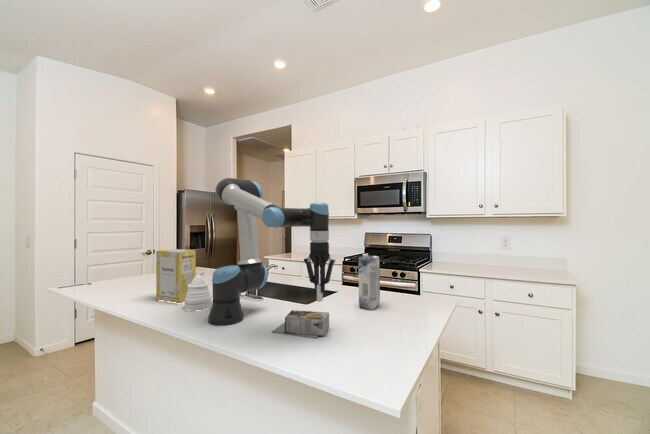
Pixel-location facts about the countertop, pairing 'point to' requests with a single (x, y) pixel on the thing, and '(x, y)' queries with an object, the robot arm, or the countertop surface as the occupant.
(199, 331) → the countertop surface
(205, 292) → the honey pot
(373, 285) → the juice carton
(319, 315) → the coffee box
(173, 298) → the pasta box
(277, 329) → the mat
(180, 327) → the countertop surface
